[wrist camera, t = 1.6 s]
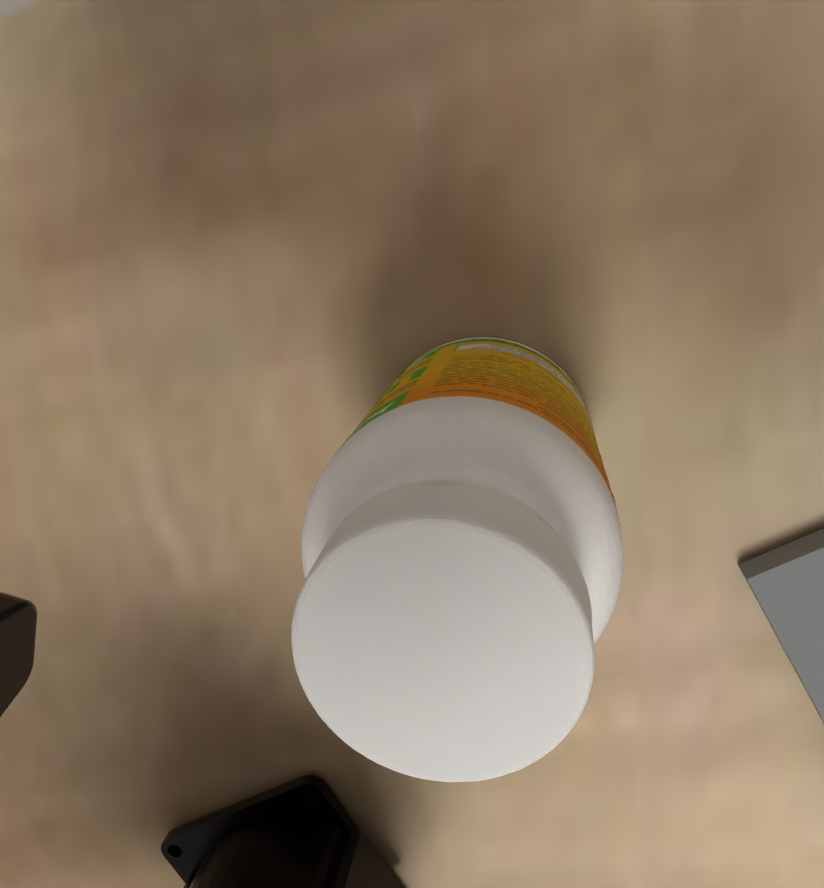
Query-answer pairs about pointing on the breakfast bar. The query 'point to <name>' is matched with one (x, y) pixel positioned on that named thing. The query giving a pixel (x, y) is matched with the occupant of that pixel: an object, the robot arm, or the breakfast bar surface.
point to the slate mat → (795, 605)
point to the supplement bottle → (459, 567)
